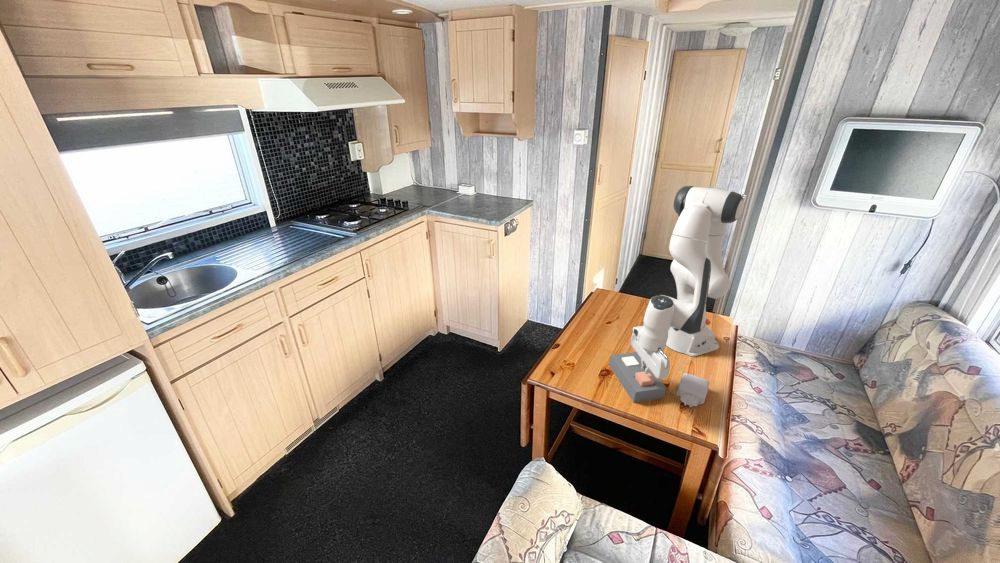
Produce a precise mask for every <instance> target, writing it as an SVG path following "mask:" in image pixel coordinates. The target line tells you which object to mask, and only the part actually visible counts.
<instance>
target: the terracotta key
mask: <svg viewBox="0 0 1000 563" xmlns="http://www.w3.org/2000/svg"><path fill="white" fill-rule="evenodd" d="M635 379H636V381H637V382H638V384H639V385H640V386H641V387H644V386H651V385H654V382H655V379H654V378H653V377H652V375H651V374H650V373H649V374H645V373H644V372H636V373H635Z"/></svg>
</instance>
